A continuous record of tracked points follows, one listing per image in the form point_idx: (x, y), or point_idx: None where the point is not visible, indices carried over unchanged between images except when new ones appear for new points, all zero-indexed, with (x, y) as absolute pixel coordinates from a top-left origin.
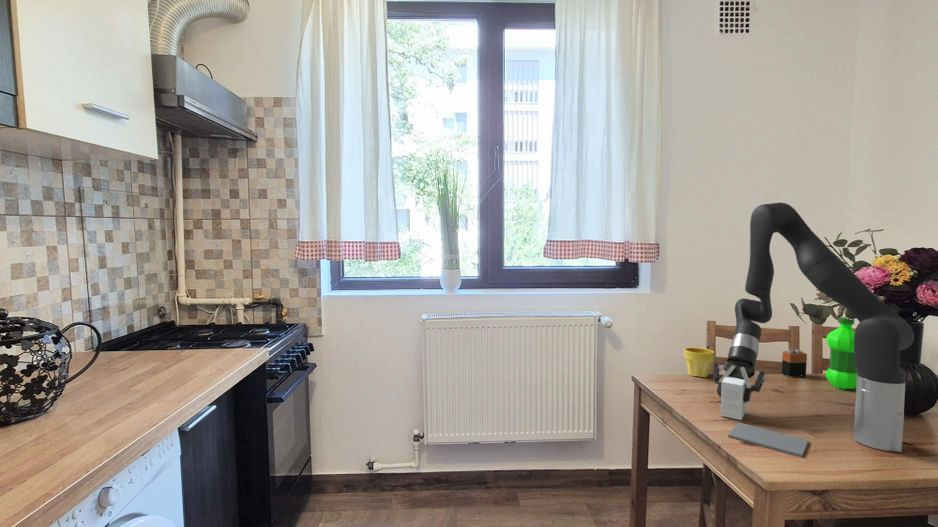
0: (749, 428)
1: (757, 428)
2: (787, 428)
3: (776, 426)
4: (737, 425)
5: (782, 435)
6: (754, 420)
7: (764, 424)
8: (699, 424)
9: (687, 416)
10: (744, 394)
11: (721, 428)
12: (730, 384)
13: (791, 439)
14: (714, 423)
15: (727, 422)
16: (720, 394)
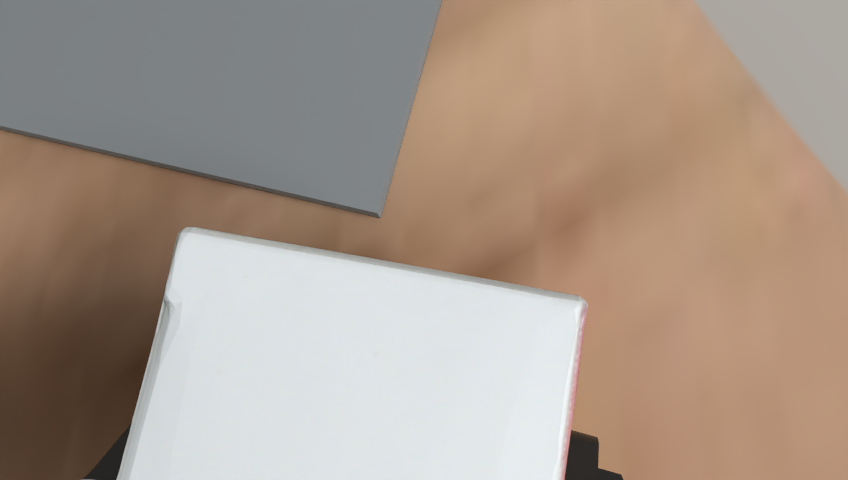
0: (302, 114)
1: (241, 148)
2: (9, 339)
3: (84, 341)
4: (391, 128)
5: (85, 97)
6: None
7: None
8: (695, 42)
9: (830, 183)
10: None
11: (516, 52)
12: (404, 268)
13: (43, 54)
14: (576, 134)
15: (470, 220)
16: None
